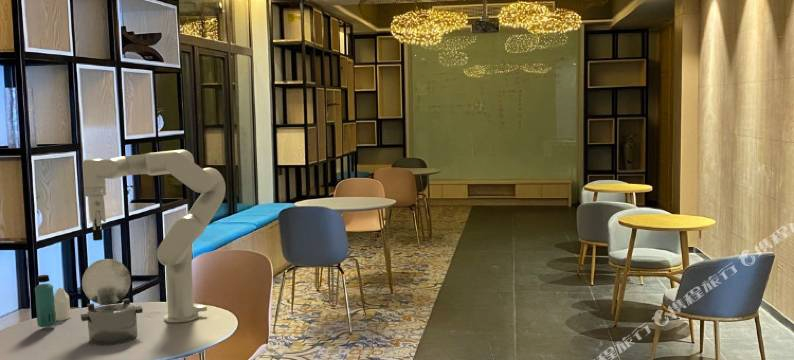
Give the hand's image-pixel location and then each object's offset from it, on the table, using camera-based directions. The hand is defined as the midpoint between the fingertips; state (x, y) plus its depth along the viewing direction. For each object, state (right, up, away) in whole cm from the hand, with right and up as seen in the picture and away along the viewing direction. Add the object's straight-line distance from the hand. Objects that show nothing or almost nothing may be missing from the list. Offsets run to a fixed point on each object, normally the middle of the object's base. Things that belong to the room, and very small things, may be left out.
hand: (97, 239), depth 293 cm
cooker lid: (+8, -14, -13) cm, 21 cm away
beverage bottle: (-16, -33, -6) cm, 37 cm away
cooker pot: (+13, -33, -20) cm, 41 cm away
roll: (-17, -31, +8) cm, 36 cm away
